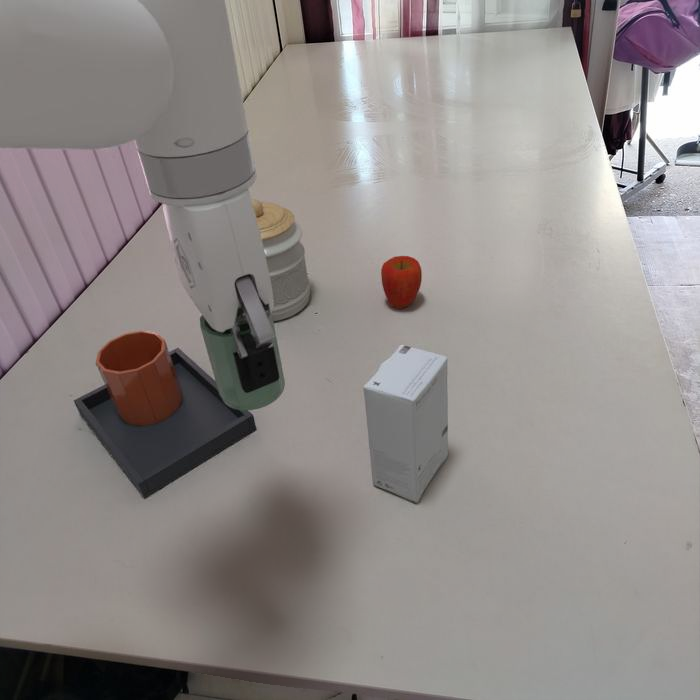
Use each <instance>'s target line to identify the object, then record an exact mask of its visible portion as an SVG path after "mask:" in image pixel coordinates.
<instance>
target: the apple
mask: <svg viewBox="0 0 700 700" xmlns="http://www.w3.org/2000/svg"><path fill="white" fill-rule="evenodd" d="M380 275H381V284H382V285H381V286H382V289H383V292H384V295H385V298H386V299H387V301H388V303H389V305H391V306H392V307H393V308H398V309H400V308H405V307H408V306H410V305H411V304H412V303H413V302H414V301H415V299H416V297H417V295H418V293H419V291H420V288H421V284H422V278H423V277H422V276H423V274H422V267H421V264H420V262H419V261H418V260H417V259H416V258H415V257H411V256H409V255H397V256H393V257H391V258H389V259H388V260H386V261H384V262H383V264H382V266H381V270H380Z"/></svg>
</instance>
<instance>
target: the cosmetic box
mask: <svg viewBox="0 0 700 700" xmlns="http://www.w3.org/2000/svg"><path fill="white" fill-rule="evenodd" d="M448 359H449V358H448V356H446V355H443V354H439V353H435V352H431V351H428V350H424V349H419V348H416V347H412V346H409V345H405V344H400V345H399V346H398V347H397V349H396V350H395V351H394V352H393V353H392V354H391V355H390V357H389V358H388V359H385V360H384V361H383V362H382V363H381V364H380V365H379V369H378V371H377V372H376V373H375V374H374V375H373V376H372V377H371V378H370V379H369V380H368V381H367V382H366V383H365V384H364V385H363V395H364V404H365V416H366V426H367V427H366V428H367V436H368V446H369V447H368V448H369V458H370V466H371V476H372V484H373V485H374V486H376V487H378V488H380V489H383V490H385V491H388V492H389V493H392V494H394V495H397V496H399V497H401V498H403V499H406V500H408V501H410V502H412V503H416V504H417V503H418V502H419V501H420V499H421V497H422V495H423V493H424V492H425V490H426V488H427V486H428V485H429V484H430V482H431V480H432V479H433V477H434V476H435V474H436V473H437V472H438V470H439V469H440V467H441V466H442V464H443V463H444V462H445V461H446V459H447V458H448V455H449V453H448V452H449V430H448V429H449V426H448V424H449V419H448V417H449V415H448V414H449V413H448V412H449V411H448V408H449V405H448V404H449V402H448V401H449V399H448V398H449V397H448V395H449V393H448V361H449V360H448Z"/></svg>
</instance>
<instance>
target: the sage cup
mask: <svg viewBox="0 0 700 700" xmlns="http://www.w3.org/2000/svg"><path fill="white" fill-rule="evenodd" d="M243 313H244V312H243V310H242V308H239V309H238V310H237V314H236V316H237V315H240V314H243ZM266 315H267V314H266ZM267 317H268V320H269V322H270V324H271V327H272V329H273V331H274V334H275V339H274V340H273V342H274V351H275V356H276V361H277V366H278V371H279V379H278V380H277V381H276V382H273V383H271V384H269V385H266V386H264V387H261V388H259V389H257V390H254V391H252V392H249V393H245V392H244V391H243V389H242V387H241V383H240V379H239V375H238V371H237V367H236V363H235V359H234V355H233V353H235V352H237V350H236V347H235V344H234V341H233V338H232V335H231V332H230V329H227V330H225V332H218V331H216V330H214V329H213V328H212V327H211V326H210V325H209V324H208V322H207V321H206V320H205V318H204V317H203V315H202V314H200V317H199V326H200V331H201V333H202V338H203V342H204V345H205V349H206V352H207V355H208V359H209V362H210V366H211V370H212V374H213V377H214V380H215V381H216V384H217V388H218V391H219V395H220V396H221V399H222V401H223V402H224V403H225V404H226V405H227V406H229V407H231V408H233V409H237V410H248V411H254V410H259V409H262V408H265V407H267V406H269V405H271V404H273V403H274V402H275V401H278V399H279V398H280V397H281V395H282V394H283V392H284V390H285V386H286V380H285V376H284V375H285V374H284V369H283V364H282V359H281V355H280V349H279V344H278V339H277V333H276V329H275V328H276V327H275V323H274V322H275V321H273V317H272V312H271V314H270V315H267ZM239 329H240V332H241V335H242V338H243V340H244V339H245V337H246V336H248V335H250V333H251V330H250V326H249V324H248V323H247V324H244V325H241V326H239Z"/></svg>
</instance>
